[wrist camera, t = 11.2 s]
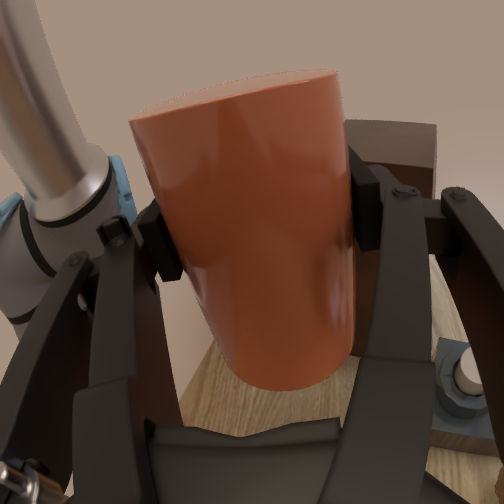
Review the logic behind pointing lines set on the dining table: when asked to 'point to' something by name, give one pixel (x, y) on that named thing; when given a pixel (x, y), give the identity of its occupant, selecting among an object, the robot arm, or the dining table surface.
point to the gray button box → (458, 407)
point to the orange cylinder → (261, 219)
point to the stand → (406, 172)
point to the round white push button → (468, 375)
